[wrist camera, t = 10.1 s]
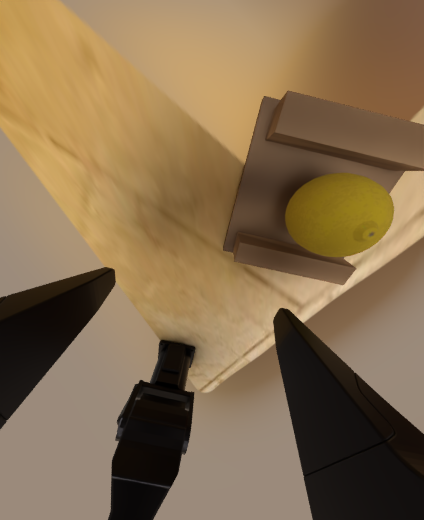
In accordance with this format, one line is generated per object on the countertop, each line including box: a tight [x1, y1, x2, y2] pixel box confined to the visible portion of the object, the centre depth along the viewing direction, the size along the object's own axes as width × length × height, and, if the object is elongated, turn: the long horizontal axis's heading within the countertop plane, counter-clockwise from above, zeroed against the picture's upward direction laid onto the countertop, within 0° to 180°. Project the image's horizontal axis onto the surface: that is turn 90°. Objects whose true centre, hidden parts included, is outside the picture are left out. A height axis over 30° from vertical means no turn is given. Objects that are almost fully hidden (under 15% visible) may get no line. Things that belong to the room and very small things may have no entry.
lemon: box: [285, 173, 394, 257], centre depth 12 cm, size 6×6×8 cm
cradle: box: [223, 91, 424, 285], centre depth 14 cm, size 13×13×4 cm
